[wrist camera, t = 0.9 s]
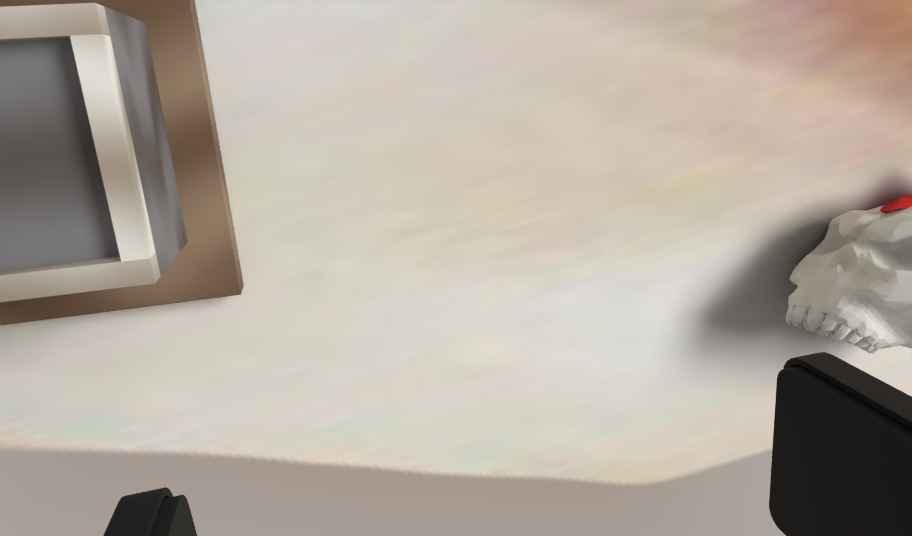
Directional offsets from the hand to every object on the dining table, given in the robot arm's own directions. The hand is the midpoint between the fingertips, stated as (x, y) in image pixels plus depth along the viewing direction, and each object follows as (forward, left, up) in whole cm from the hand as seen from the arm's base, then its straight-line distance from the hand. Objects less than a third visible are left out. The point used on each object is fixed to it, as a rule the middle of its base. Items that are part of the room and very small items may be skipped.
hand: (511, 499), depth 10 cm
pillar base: (-4, -14, -26) cm, 30 cm away
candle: (+7, +32, -26) cm, 42 cm away
